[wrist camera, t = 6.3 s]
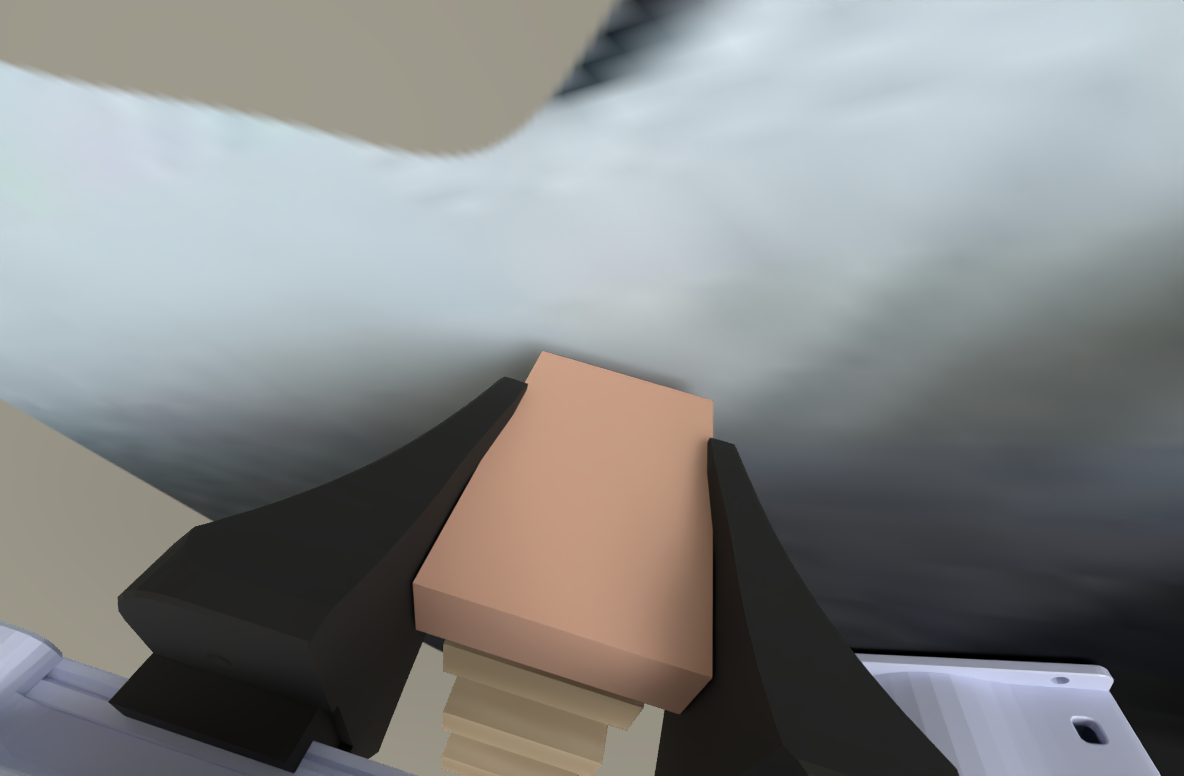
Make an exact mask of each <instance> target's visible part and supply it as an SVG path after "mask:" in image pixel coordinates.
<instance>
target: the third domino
mask: <svg viewBox="0 0 1184 776" xmlns="http://www.w3.org/2000/svg"><path fill="white" fill-rule="evenodd" d="M443 671H444V672H447V673H450V674H453V675H456V676H459V677H462V678H465V679H468V680H471V681H475V682H478V683H481V684H484V685H487V686H490V687H493V688H496V689H499V690H502V691H505V692H508V693H511V694H515V695H518V696H521V697H524V698H527V699H530V700H533V701H536V702H539V703H542V704H545V705H548V706H551V707H554V708H558V709H561V710H564V711H567V712H570V713H573V714H576V715H579V716H582V717H585V718H588V719H591V720H594V721H598V722H601V723H604V724H607V725H610V726H613V727H616V728H619V729H622V730H627V729H628V728H629V727H630V725H631V724H632V723H633V721H634V720H635V718H636V717H637V716H638V715H639V713H640V712H641V710H642V709H643V707H644V703H642V702H639V701H636V700H633V699H630V698H627V697H624V696H621V695H618V694H614V693H611V692H608V691H605V690H602V689H599V688H596V687H593V686H590V685H587V684H583V683H580V682H577V681H574V680H571V679H568V678H565V677H562V676H559V675H555V674H552V673H549V672H546V671H543V670H540V669H537V668H534V667H531V666H527V665H524V664H521V663H518V662H515V661H512V660H509V659H506V658H503V657H499V656H496V655H493V654H490V653H487V652H484V651H481V650H478V649H475V648H471V647H468V646H465V645H462V644H459V643H456V642H453V641H450V640H447V639H445V641H444V644H443Z"/></svg>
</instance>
